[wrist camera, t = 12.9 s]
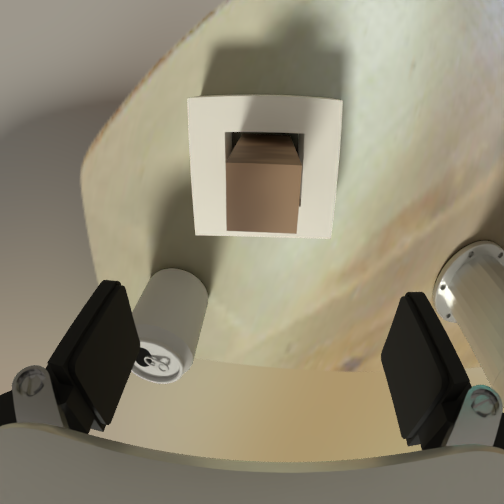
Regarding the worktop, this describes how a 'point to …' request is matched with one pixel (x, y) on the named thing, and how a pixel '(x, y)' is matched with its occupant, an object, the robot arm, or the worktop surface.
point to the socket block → (264, 120)
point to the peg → (263, 184)
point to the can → (169, 325)
